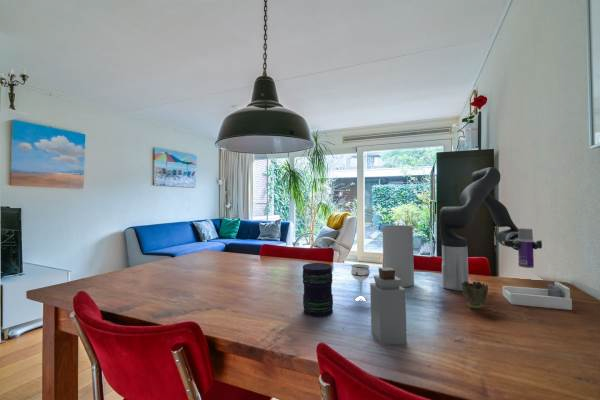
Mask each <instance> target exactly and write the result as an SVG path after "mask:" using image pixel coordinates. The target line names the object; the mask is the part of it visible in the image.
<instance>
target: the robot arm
mask: <svg viewBox="0 0 600 400" xmlns="http://www.w3.org/2000/svg"><path fill="white" fill-rule="evenodd" d="M501 177H502V175H501V172H500V170H498V168H496V167H494V166H493V167H492V166H491V167H485V168H482V169H480V170H476V171H474V172H472V173H471V181H472V183H469V185H467V186H466V187H465V188H464V189H463V191H461V193H460V195H459V200H460V203H461V205H460V206H443V207H441V209H440V210H439V214H438V215H439V218H438V219H439V232H440V233H439V235H440V240H441V258H442V259H441V260H442V261H441V282H442V287H443V289H447V290H451V291H459V292H460V291H462V292H463V289H462V282H463V283H464V281H466V282H469V259H468V256H469V255H468V240H467V239H466V238H465V237H463V236H460V235H458V234H456V232H455V231H454V230H465V229H468V228H469V227H470V225H471V224H472V221H473V220H474V217H475V216H476V213H477V212H478V210H479V209H480V207H481V206H482V204H483V203H485V206H486V207H487V209H488V211H489V212H490V214H491V217H492V220H493V222H494V224H495V226H496V227H498V228H505V227H507V228H508V229H505V230H501V231H499V232H497V233H496V240H497V242H498V243H499V244H500V245H501V246H504V247H508V248H512V249H513V250H515V251H518V248H520V243H519V242H518V229H519V227H517V225H516V224H515V223H514V222H513V220H512V218H511V215H510V213H509V210H508V208H507V207H506V206H505V205H504V204H503V203H502V202H501V201H499V200H498V199H496V198H495V197H494V196H492V195H491V191H492V190H493V189H495V188H496V186H498V185H499V184H500V181H501ZM538 249H543V241H542V240H536V241H533V250H538Z"/></svg>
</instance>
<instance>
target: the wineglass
mask: <svg viewBox="0 0 600 400" xmlns="http://www.w3.org/2000/svg"><path fill="white" fill-rule="evenodd" d="M350 267H351V270H350V274H351V276H352V278H354V279H355V280H357V281H358V282H359V296H355V297H354V298H353V299H354V300H355V301H358V302H365V301H368V300H369V299H368V297H365V296H362V285H363V283H362V282H363V281H364V280H367V279H368V277H370V272H371V271H370V269H369V268H370V266H369V265H368V264H363V263H362V264H360V263H358V264H352V265H350Z"/></svg>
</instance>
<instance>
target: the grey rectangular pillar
mask: <svg viewBox="0 0 600 400" xmlns="http://www.w3.org/2000/svg"><path fill="white" fill-rule="evenodd" d="M413 227H414V226H412V225H408V224H407V225H404V224H403V225H402V224H400V225H399V224H395V225H394V224H388V225H382V229H381V230H382V258H383V259H382V260H383V261H382V264H383V266H382V268H385V267H390V268H392V269H394V270H395V276H396V277H398V278H399V279H401V283H400V286H401V287H402V288H408V287H412V286H413V285H415V269H414V261H415V260H414V234H413V233H414V229H413Z"/></svg>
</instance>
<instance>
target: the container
mask: <svg viewBox="0 0 600 400" xmlns="http://www.w3.org/2000/svg"><path fill="white" fill-rule="evenodd" d="M533 232H534V231H533V229H532V228H518V242H519V243H520V248H518V250H517V252H518V266H519V267H520V268H526V269H528V268H529V269H532V268H533V269H534V267H535V265H534V263H535V262H534V249H533V242H534V237H533V235H534V234H533Z"/></svg>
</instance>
